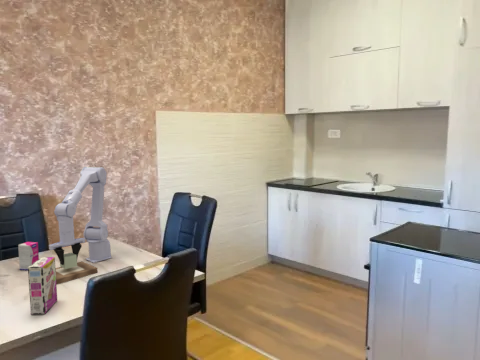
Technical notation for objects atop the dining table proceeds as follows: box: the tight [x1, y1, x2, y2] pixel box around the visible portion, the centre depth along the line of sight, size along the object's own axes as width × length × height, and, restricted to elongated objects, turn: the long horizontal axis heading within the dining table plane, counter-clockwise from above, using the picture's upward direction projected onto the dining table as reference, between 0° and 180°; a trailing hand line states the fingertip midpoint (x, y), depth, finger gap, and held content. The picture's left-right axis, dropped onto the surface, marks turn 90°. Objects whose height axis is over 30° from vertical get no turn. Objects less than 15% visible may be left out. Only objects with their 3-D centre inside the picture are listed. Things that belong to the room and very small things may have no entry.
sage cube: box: [59, 252, 78, 269], centre depth 166 cm, size 5×5×5 cm
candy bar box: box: [27, 256, 58, 315], centre depth 135 cm, size 11×5×16 cm, turn 5°
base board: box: [55, 261, 99, 286], centre depth 167 cm, size 18×14×2 cm
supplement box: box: [17, 241, 40, 271], centre depth 175 cm, size 6×6×12 cm
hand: (68, 262), depth 166 cm, fingers closed on sage cube, 5 cm apart
